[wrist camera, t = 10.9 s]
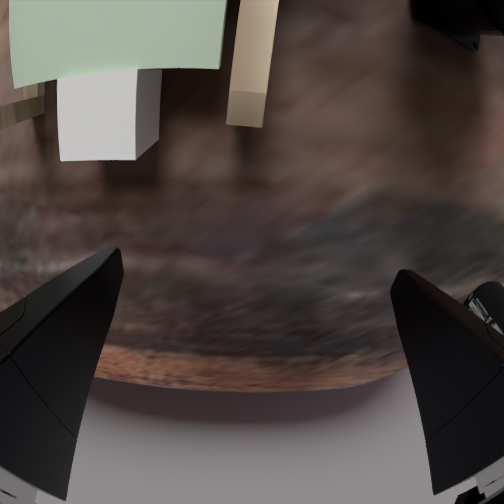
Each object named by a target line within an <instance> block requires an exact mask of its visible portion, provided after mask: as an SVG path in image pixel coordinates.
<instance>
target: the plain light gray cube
mask: <svg viewBox="0 0 504 504" xmlns="http://www.w3.org/2000/svg"><path fill="white" fill-rule="evenodd" d="M161 81H162V69H130V70H118V71H108V72H99V73H91V74H84V75H77V76H71V77H65V78H59V79H57V116H58V136H59V149H60V160H61V161H79V160H136V159H137V158H138V157H140V156H141V155H142V154H143V153H144V152H145V151H146V150H147V149H149V148H150V147H151V146H152V145H153V144H154V143H156V142H157V141H158V140H159V118H160V97H161Z"/></svg>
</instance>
